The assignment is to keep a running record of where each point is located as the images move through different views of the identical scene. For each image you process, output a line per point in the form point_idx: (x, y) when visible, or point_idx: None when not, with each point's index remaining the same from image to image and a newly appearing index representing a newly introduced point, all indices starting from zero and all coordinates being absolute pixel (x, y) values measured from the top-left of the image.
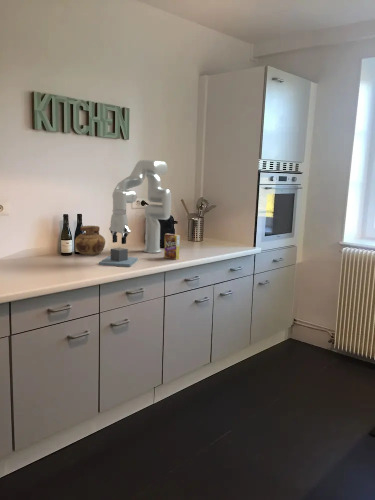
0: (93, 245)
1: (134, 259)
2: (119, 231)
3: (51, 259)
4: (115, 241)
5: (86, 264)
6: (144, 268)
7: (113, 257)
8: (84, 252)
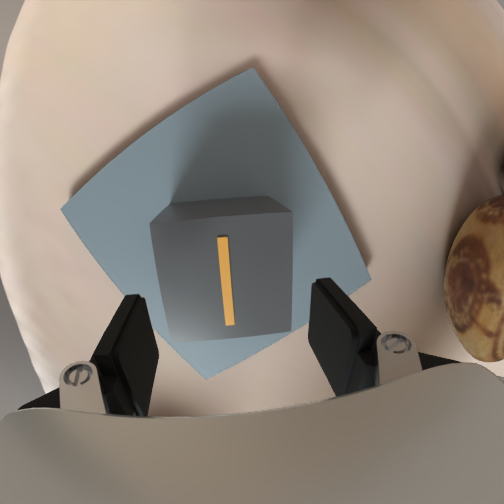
0: (485, 246)
1: (168, 334)
2: (62, 426)
3: (480, 60)
4: (312, 319)
5: (319, 39)
6: (13, 248)
7: (236, 200)
8: (480, 205)
